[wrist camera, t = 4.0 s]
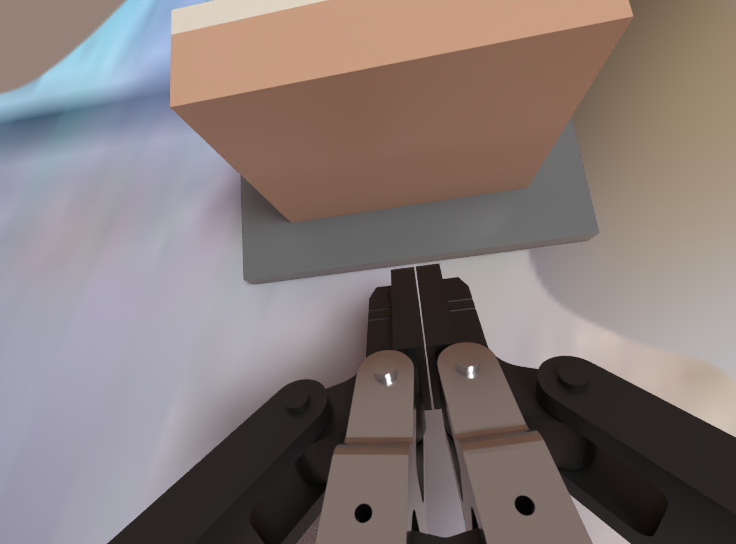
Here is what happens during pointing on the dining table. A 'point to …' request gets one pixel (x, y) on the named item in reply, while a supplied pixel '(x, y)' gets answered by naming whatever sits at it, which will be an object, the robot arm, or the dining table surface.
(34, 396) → the dining table surface
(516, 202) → the slate board
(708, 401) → the dining table surface
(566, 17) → the tile
